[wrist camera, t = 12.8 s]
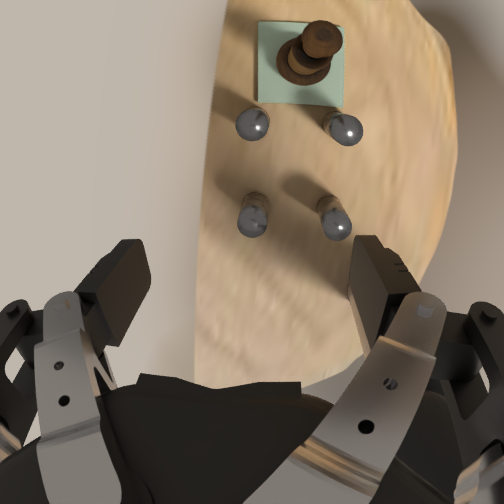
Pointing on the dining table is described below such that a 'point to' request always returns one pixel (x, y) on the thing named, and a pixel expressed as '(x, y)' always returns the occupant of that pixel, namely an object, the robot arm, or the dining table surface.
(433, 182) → the dining table surface
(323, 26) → the wooden pepper mill
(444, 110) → the dining table surface
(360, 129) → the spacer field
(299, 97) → the green mat
